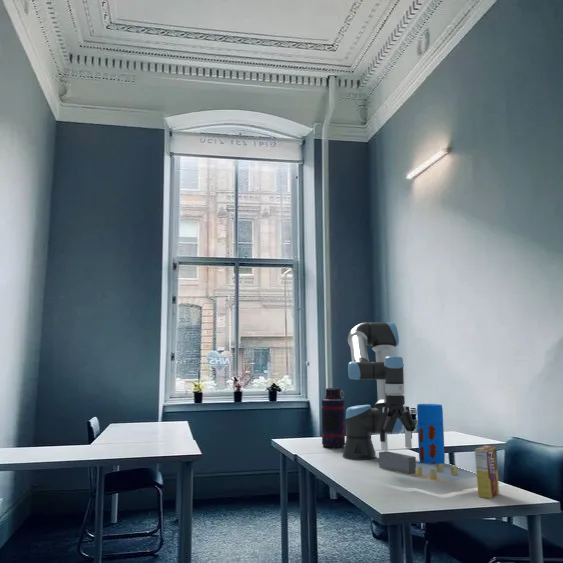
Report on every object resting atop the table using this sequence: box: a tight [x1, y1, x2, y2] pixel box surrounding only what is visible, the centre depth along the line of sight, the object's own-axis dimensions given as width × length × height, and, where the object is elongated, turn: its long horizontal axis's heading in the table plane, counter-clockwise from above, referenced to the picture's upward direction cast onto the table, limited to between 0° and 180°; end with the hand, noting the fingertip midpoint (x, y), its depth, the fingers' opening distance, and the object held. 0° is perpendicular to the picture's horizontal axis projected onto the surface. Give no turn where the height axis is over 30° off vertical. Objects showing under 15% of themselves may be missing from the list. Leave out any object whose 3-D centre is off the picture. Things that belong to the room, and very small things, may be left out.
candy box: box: [474, 445, 500, 499], centre depth 173 cm, size 9×4×15 cm, turn 140°
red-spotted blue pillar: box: [416, 403, 446, 465], centre depth 228 cm, size 11×11×25 cm
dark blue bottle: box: [321, 387, 346, 449], centre depth 274 cm, size 14×12×30 cm
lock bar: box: [378, 450, 417, 475], centre depth 208 cm, size 16×4×6 cm, turn 34°
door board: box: [378, 461, 477, 483], centre depth 205 cm, size 32×22×1 cm
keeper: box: [415, 463, 459, 480], centre depth 198 cm, size 8×14×3 cm, turn 124°
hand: (396, 449), depth 208 cm, fingers open, 13 cm apart
